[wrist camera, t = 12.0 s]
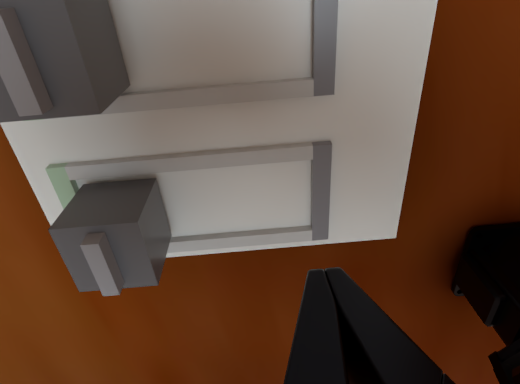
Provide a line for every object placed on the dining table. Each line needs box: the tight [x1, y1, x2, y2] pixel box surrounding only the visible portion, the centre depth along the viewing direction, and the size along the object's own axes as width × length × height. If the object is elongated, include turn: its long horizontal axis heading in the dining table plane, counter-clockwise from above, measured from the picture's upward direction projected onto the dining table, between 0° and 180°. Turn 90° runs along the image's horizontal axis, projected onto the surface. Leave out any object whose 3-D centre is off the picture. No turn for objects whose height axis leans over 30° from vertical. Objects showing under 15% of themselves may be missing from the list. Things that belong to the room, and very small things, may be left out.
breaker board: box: [0, 0, 438, 257], centre depth 16 cm, size 21×26×2 cm
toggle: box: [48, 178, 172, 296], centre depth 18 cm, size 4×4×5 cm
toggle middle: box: [0, 0, 130, 123], centre depth 13 cm, size 4×4×5 cm
